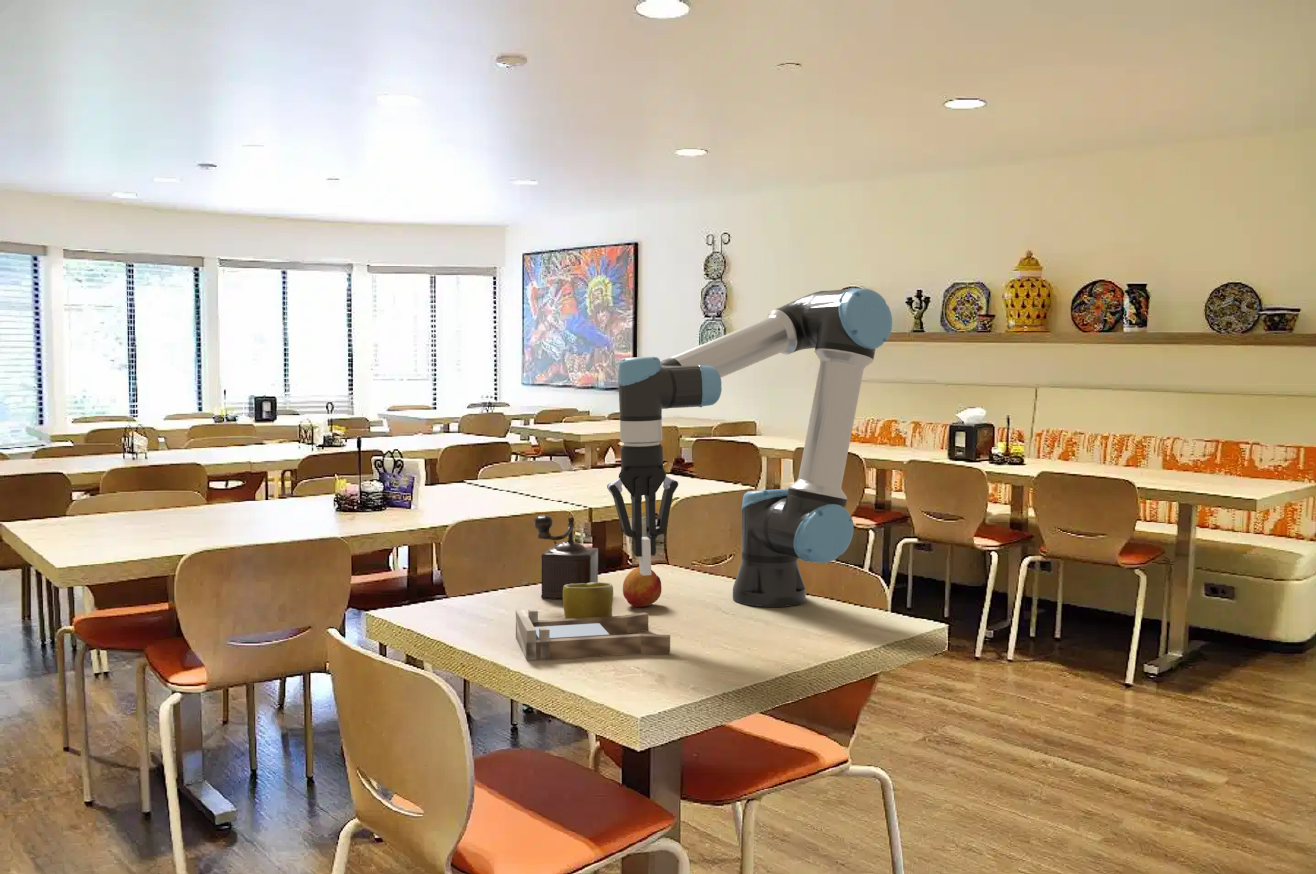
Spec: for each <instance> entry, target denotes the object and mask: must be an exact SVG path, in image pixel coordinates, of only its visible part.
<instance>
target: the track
mask: <svg viewBox="0 0 1316 874" xmlns="http://www.w3.org/2000/svg"><path fill="white" fill-rule="evenodd" d="M594 623H600V625H601V626H602V627H603V628H604V629H605V630H606V631H607V632H608V633H609V636H595V637H578V638H560V639H550V630H549V628H548V627H547V628H539V640H536V629H535V628H534V627H543V626H560V625H577V624H594ZM645 630H646V631H649V613H647V612H639V613H631V614H624V615H612V616H608V617H589V618H570V619H565V618H557V619H555V618H554V619H539V609H537V608H536V609H535V608H533V609H528V612H527V613H526V611H525V610H524V609H521V610H520V609H519V610H518V609H516V610H515V640H516V641H517V643H518V645H519V647H520V649H521V651H522V653H523V656H524V658H525V660H526V661H540V660H541V661H544V660H559V659H575V658H589V657H590V658H591V657H607V656H608V657H609V656H624V655H638V654H639V655H640V654H643V655H645V654H646V655H670V653H671V634H658V633H657V634H655V633H654V634H653V633H648V634H647V633H638V632H639V631H640V632H644V631H645ZM631 633H633V634H631ZM634 633H635V634H634Z"/></svg>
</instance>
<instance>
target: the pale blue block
mask: <svg viewBox="0 0 1316 874" xmlns="http://www.w3.org/2000/svg"><path fill="white" fill-rule="evenodd" d="M547 627H548V628H549V630H550V639H560V638H578V637H595V636H610V635H609V633H608V632H607V631H606V630H605V629H604V628H603V627H602V626H601V625H600V623H594V624H577V625H560V626H543V627H534V628H535V629H536V640H539V628H547Z"/></svg>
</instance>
